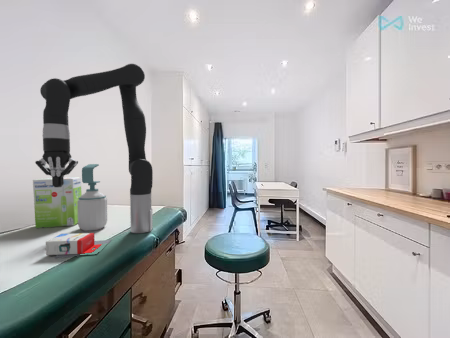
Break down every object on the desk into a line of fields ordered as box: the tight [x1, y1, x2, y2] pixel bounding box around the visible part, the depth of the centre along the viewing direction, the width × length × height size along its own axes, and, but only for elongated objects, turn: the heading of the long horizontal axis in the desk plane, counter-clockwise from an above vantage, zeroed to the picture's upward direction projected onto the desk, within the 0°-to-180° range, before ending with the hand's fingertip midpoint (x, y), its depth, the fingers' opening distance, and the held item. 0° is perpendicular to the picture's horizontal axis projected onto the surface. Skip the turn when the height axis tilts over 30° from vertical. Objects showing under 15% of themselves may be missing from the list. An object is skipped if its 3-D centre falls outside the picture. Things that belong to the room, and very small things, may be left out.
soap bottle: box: [77, 163, 108, 232], centre depth 106 cm, size 12×12×31 cm
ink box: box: [45, 232, 102, 256], centre depth 78 cm, size 8×5×15 cm
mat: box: [54, 239, 112, 259], centre depth 81 cm, size 13×14×1 cm
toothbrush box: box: [32, 176, 83, 229], centre depth 114 cm, size 18×10×24 cm, turn 102°
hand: (58, 187), depth 78 cm, fingers closed
